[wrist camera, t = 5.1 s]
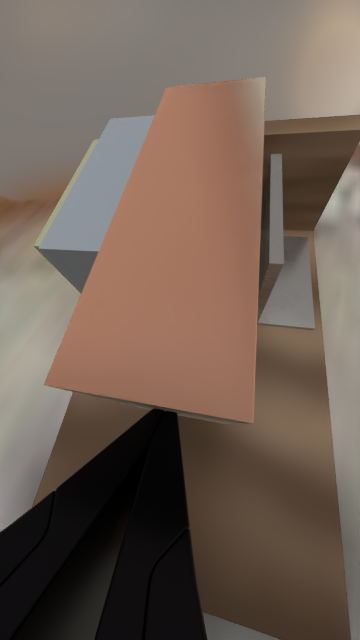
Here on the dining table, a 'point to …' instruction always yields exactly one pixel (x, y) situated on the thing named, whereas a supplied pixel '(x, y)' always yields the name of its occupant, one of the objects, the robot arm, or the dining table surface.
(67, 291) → the dining table surface
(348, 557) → the dining table surface
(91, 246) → the small books
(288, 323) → the bookend
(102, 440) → the shelf
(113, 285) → the boxed book
